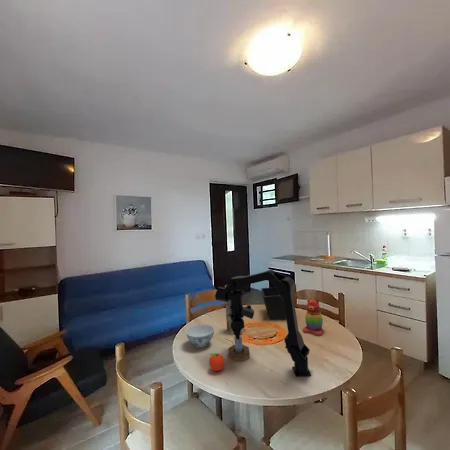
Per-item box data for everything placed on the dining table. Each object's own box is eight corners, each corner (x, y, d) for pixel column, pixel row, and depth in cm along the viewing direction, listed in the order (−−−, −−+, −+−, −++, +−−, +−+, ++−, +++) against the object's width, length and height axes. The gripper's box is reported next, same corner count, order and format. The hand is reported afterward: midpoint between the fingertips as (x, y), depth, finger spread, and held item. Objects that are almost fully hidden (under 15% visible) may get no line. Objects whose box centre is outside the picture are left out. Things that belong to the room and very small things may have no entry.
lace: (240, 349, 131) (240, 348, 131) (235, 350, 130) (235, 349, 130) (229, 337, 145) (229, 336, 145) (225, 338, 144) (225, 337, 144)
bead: (250, 361, 120) (249, 354, 120) (228, 361, 120) (228, 355, 120) (248, 350, 130) (248, 344, 130) (228, 350, 130) (228, 345, 130)
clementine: (204, 369, 115) (203, 353, 115) (216, 362, 120) (215, 347, 120) (216, 376, 110) (216, 360, 109) (228, 369, 114) (227, 353, 114)
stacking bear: (301, 332, 147) (300, 301, 147) (308, 325, 155) (307, 296, 154) (320, 337, 140) (318, 304, 140) (326, 330, 148) (325, 299, 147)
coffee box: (244, 329, 154) (242, 303, 154) (242, 334, 148) (240, 306, 148) (229, 328, 156) (227, 302, 156) (226, 333, 150) (225, 306, 150)
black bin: (265, 322, 164) (264, 295, 163) (262, 311, 182) (261, 287, 182) (295, 321, 163) (294, 294, 162) (289, 310, 182) (288, 286, 181)
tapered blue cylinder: (242, 357, 123) (242, 339, 123) (235, 358, 123) (234, 339, 123) (242, 353, 127) (241, 335, 127) (235, 354, 127) (234, 336, 127)
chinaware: (194, 354, 128) (193, 339, 128) (182, 343, 141) (181, 329, 140) (220, 345, 136) (219, 331, 136) (206, 335, 149) (205, 322, 149)
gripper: (254, 309, 115) (256, 343, 116) (251, 296, 134) (252, 326, 134) (229, 310, 115) (231, 344, 116) (229, 297, 134) (231, 327, 134)
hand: (237, 334), depth 125 cm, fingers open, 9 cm apart
